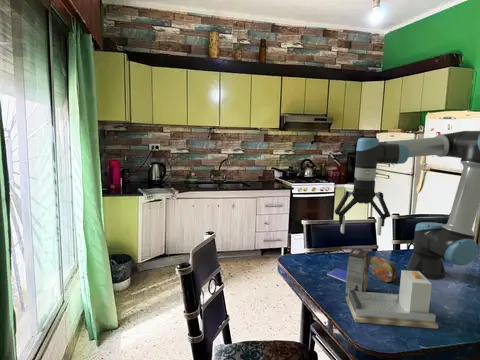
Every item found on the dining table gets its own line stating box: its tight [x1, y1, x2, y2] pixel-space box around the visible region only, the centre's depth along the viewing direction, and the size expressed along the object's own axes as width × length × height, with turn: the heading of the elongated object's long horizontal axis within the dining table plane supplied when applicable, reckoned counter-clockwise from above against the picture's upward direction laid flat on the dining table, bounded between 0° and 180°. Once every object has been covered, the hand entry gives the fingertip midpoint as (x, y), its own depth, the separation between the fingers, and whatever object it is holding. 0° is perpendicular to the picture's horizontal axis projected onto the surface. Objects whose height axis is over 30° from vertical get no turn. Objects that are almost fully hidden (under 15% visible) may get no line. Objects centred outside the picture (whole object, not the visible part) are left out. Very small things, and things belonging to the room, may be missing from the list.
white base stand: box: [347, 290, 437, 323], centre depth 118 cm, size 25×13×4 cm, turn 84°
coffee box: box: [345, 247, 371, 295], centre depth 132 cm, size 9×6×16 cm
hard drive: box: [326, 268, 347, 283], centre depth 147 cm, size 2×8×12 cm
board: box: [345, 295, 439, 330], centre depth 118 cm, size 26×16×1 cm, turn 84°
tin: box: [368, 255, 398, 283], centre depth 146 cm, size 15×3×8 cm, turn 18°
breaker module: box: [398, 269, 433, 313], centre depth 116 cm, size 6×10×13 cm, turn 174°
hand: (360, 233), depth 130 cm, fingers open, 13 cm apart
